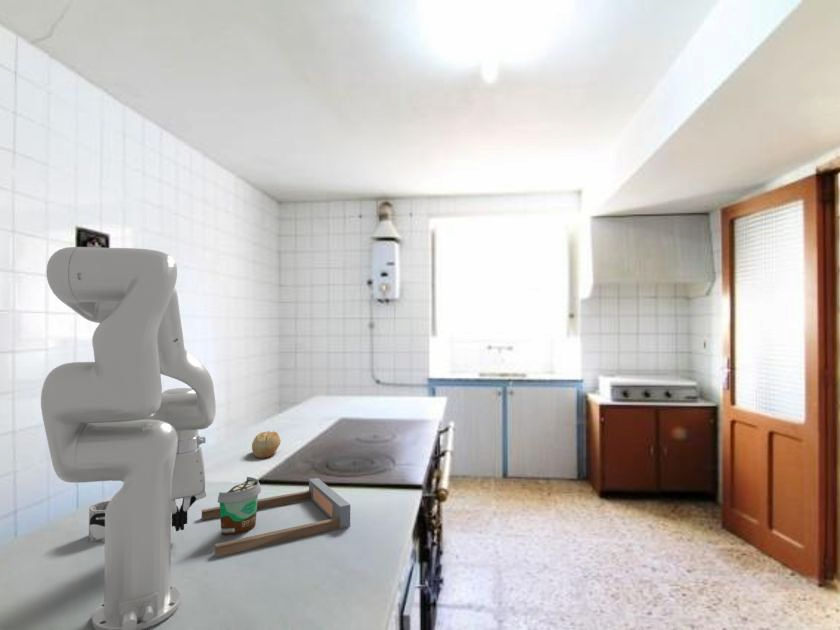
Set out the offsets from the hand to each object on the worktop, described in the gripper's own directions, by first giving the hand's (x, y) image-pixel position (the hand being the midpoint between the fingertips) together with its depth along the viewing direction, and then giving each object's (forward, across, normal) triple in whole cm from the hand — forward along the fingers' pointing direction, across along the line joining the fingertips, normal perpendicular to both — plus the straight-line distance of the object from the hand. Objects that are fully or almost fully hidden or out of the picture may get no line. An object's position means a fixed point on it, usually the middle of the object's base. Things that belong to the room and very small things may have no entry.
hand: (179, 528), depth 107 cm
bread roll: (+5, -34, -62) cm, 71 cm away
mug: (+3, +12, -11) cm, 17 cm away
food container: (+3, -14, +1) cm, 14 cm away
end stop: (+3, -34, +1) cm, 34 cm away
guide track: (+3, -19, +1) cm, 20 cm away
